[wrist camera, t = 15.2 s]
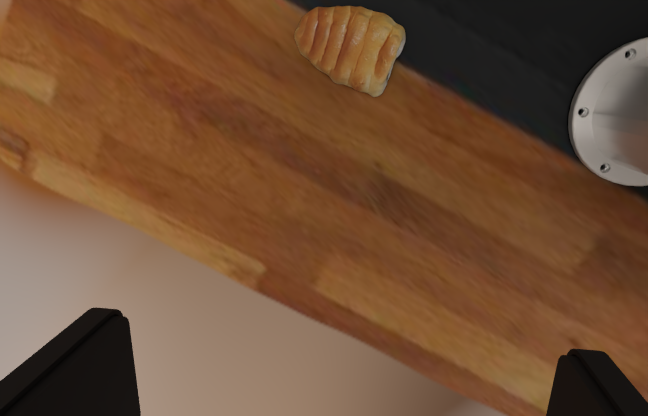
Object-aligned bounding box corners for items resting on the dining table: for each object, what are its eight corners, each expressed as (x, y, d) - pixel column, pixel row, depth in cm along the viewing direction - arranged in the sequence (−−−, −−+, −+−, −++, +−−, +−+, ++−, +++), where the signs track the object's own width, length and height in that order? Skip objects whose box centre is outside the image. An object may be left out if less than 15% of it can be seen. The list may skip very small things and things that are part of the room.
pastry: (288, 65, 40) (280, 64, 36) (311, -11, 38) (305, -21, 34) (383, 99, 40) (384, 101, 36) (411, 25, 38) (415, 19, 34)
